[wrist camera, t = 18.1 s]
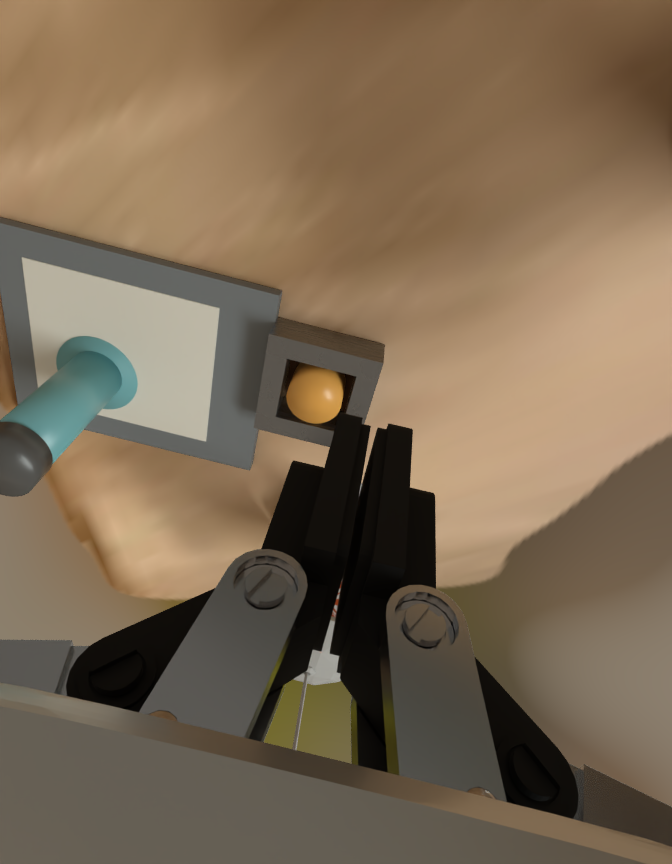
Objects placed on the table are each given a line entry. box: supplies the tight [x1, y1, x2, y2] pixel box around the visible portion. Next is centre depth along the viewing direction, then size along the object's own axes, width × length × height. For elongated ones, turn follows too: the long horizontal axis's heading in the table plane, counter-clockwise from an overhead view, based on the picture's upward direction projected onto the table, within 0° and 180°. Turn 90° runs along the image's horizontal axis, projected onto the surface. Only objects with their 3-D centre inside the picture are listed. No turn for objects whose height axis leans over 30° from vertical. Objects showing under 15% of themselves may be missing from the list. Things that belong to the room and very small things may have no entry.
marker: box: [0, 351, 122, 496], centre depth 36 cm, size 4×4×12 cm
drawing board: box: [0, 217, 282, 470], centre depth 40 cm, size 20×16×1 cm
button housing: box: [254, 317, 385, 447], centre depth 39 cm, size 8×8×3 cm
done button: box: [286, 362, 346, 424], centre depth 39 cm, size 4×4×3 cm
